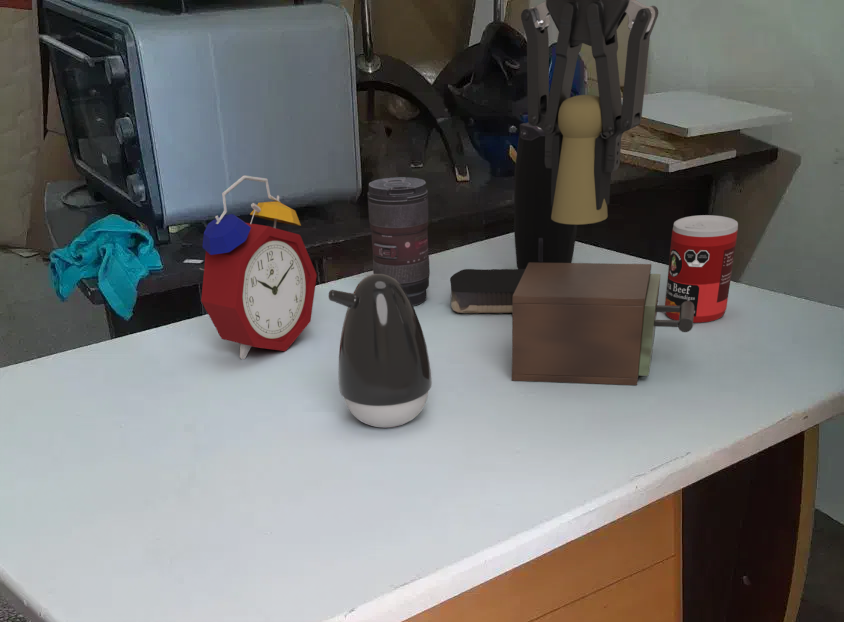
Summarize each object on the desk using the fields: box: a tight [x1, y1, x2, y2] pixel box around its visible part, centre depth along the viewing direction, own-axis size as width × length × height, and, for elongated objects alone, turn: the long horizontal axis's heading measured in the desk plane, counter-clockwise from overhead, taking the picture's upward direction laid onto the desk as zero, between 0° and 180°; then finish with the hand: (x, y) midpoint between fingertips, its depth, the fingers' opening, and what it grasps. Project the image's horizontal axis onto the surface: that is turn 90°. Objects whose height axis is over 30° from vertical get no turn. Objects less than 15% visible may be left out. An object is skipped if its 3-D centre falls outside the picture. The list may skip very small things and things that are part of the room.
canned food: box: [664, 214, 739, 324], centre depth 130 cm, size 8×8×11 cm
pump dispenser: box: [328, 274, 433, 429], centre depth 108 cm, size 10×10×15 cm
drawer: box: [638, 273, 694, 377], centre depth 119 cm, size 18×11×8 cm, turn 77°
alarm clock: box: [198, 174, 318, 361], centre depth 126 cm, size 15×9×20 cm, turn 143°
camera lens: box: [367, 176, 431, 307], centre depth 139 cm, size 8×8×15 cm
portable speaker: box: [513, 121, 578, 269], centre depth 143 cm, size 9×9×20 cm
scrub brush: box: [449, 268, 525, 314], centre depth 139 cm, size 16×8×4 cm, turn 80°
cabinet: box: [511, 262, 652, 386], centre depth 120 cm, size 15×13×10 cm
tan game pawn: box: [551, 94, 609, 225], centre depth 105 cm, size 6×6×11 cm
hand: (579, 204), depth 108 cm, fingers closed on tan game pawn, 4 cm apart
